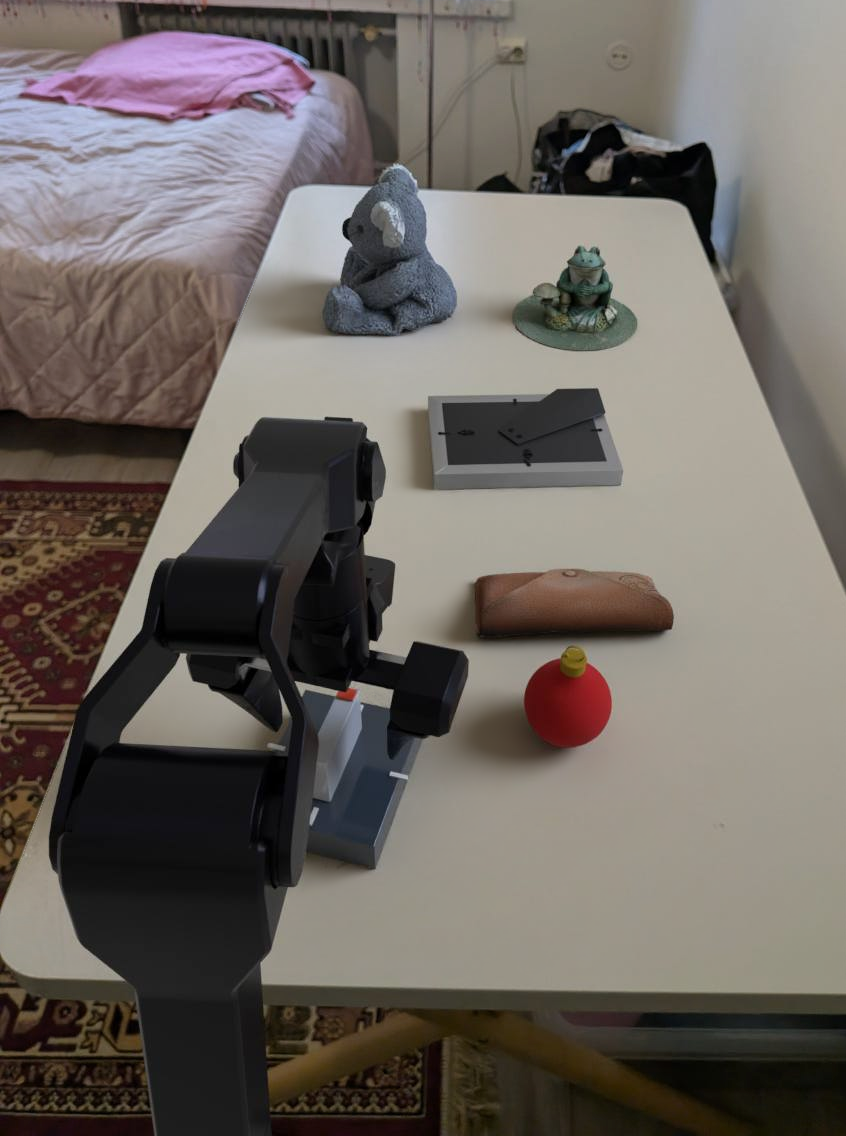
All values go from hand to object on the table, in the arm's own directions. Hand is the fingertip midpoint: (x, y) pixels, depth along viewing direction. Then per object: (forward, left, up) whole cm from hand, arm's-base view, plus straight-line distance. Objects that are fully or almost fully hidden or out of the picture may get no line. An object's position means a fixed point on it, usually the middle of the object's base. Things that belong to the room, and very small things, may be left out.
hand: (335, 740), depth 71 cm
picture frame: (+49, -4, -6) cm, 49 cm away
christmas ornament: (+10, -16, -6) cm, 20 cm away
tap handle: (0, 0, -2) cm, 2 cm away
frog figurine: (+82, -5, -6) cm, 82 cm away
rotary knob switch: (0, 0, -5) cm, 5 cm away
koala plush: (+76, +20, -6) cm, 79 cm away
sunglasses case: (+24, -14, -6) cm, 28 cm away
